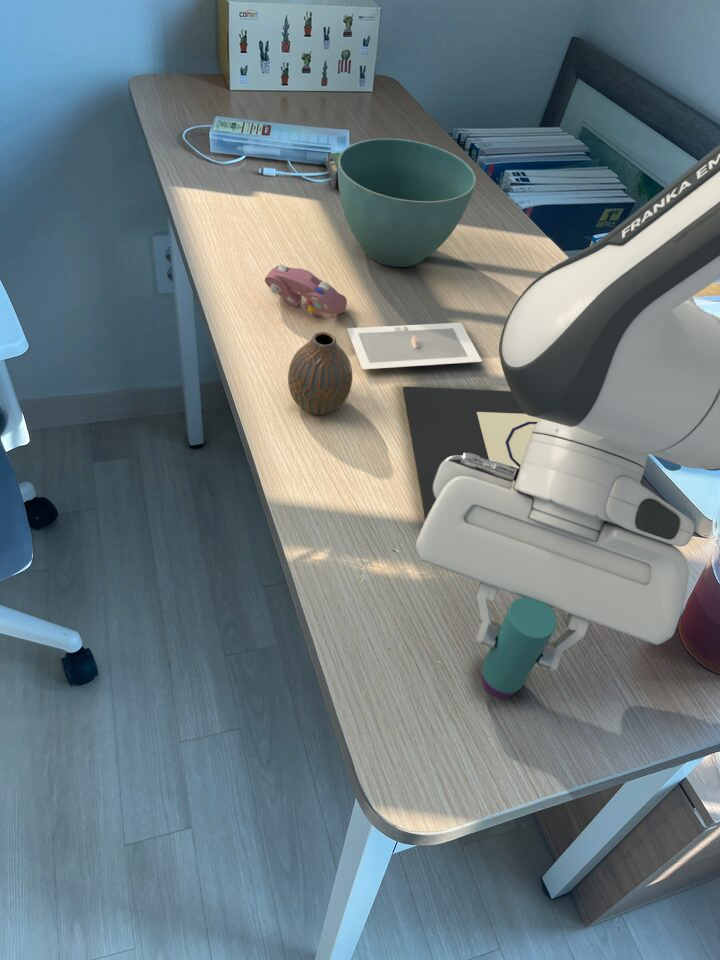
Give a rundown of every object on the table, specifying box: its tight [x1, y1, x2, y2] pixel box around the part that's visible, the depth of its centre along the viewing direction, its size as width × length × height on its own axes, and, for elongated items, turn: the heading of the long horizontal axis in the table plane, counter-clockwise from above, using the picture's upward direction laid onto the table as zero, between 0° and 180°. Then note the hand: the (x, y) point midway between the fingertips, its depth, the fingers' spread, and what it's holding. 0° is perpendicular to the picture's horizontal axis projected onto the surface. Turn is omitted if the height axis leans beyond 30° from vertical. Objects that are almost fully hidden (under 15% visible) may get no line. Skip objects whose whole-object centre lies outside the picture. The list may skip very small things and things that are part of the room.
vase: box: [287, 331, 353, 415], centre depth 81 cm, size 7×7×9 cm
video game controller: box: [264, 263, 348, 316], centre depth 94 cm, size 10×5×7 cm, turn 62°
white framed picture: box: [346, 322, 483, 370], centre depth 92 cm, size 8×15×2 cm, turn 104°
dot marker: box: [481, 596, 558, 699], centre depth 60 cm, size 4×4×10 cm
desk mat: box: [402, 386, 540, 521], centre depth 82 cm, size 24×20×1 cm
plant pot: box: [338, 138, 477, 268], centre depth 103 cm, size 18×18×12 cm
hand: (515, 655), depth 59 cm, fingers closed on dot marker, 3 cm apart
